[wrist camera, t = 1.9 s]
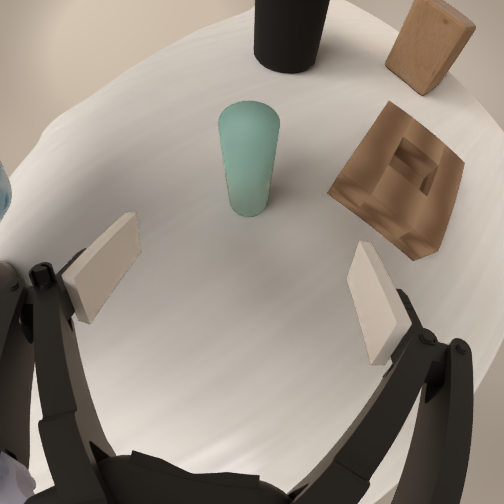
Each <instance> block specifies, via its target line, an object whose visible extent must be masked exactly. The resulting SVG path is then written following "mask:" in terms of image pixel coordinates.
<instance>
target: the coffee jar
mask: <svg viewBox="0 0 504 504" xmlns="http://www.w3.org/2000/svg"><path fill="white" fill-rule="evenodd" d="M329 1H330V0H255V25H254V55H255V57H256V59H257V60H258V61H259V62H260V64H262V65H263V66H264V67H266V68H268V69H270V70H273V71H276V72H280V73H299V72H302V71H305V70H307V69H308V68H310V67H311V66H312V65H313V64H314V63H315V60H316V56H317V52H318V48H319V44H320V40H321V36H322V31H323V27H324V23H325V19H326V14H327V10H328V6H329Z"/></svg>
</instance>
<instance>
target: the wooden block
mask: <svg viewBox="0 0 504 504" xmlns="http://www.w3.org/2000/svg"><path fill="white" fill-rule="evenodd" d="M475 29H476V26H475V24H474V23H473V22H472V21H471V20H469V19H468V18H467V17H466V16H464V15H463V14H462V13H460V12H459V11H458V10H456V9H455V8H453V7H452V6H450V5H449V4H448V3H446V2H445V1H443V0H414V2H413V4H412V6H411V9H410V11H409V13H408V15H407V17H406V20H405V22H404V24H403V26H402V29H401V31H400V33H399V35H398V37H397V39H396V41H395V44H394V46H393V48H392V50H391V52H390V54H389V56H388V58H387V60H386V63H385V65H386V67H387V68H388V69H390V70H391V71H392V72H394V73H395V74H396V75H397V76H399V77H400V78H401V79H402V80H404V81H405V82H406V83H407V84H408V85H410V86H411V87H412V88H413V89H414V90H415V91H416V92H418V93H419V94H421V95H424V94H426V93H428V92H429V91H430V90H432V89H433V88H435V87H436V86H437V85H439V83H440V82H441V80H442V79H443V78H444V76H445V75H446V73H447V72H448V70H449V69H450V67H451V66H452V64H453V63H454V62H455V60H456V59H457V57H458V56H459V54H460V53H461V51H462V49H463V48H464V47H465V45H466V44H467V42H468V40H469V39H470V37H471V36H472V34H473V33H474V31H475Z"/></svg>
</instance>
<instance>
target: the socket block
mask: <svg viewBox="0 0 504 504" xmlns="http://www.w3.org/2000/svg"><path fill="white" fill-rule="evenodd" d="M464 164H465V163H464V162H463V161H462V160H461V159H460V158H459V157H458V156H457V155H456V154H455V153H454V152H453V151H452V150H451V149H450V148H449V147H448V146H446V145H445V144H444V143H443V142H442V141H441V140H440V139H438V138H437V137H436V136H435V135H434V134H433V133H431V132H430V131H429V130H428V129H427V128H425V127H424V126H423V125H422V124H420V123H419V122H418V121H416V120H415V119H414V118H413V117H411V116H410V115H409V114H407V113H406V112H404V111H403V110H402V109H400V108H399V107H398V106H396V105H395V104H393V103H392V102H390V101H388V103H387V104H386V106H385V107H384V109H383V110H382V112H381V113H380V115H379V116H378V118H377V119H376V121H375V122H374V124H373V125H372V127H371V128H370V130H369V131H368V133H367V134H366V136H365V137H364V139H363V140H362V142H361V143H360V144H359V146H358V147H357V149H356V150H355V152H354V153H353V155H352V156H351V158H350V159H349V160H348V162H347V163H346V165H345V166H344V168H343V169H342V171H341V172H340V174H339V175H338V177H337V179H336V180H335V182H334V183H333V185H332V187H331V188H330V190H329V192H328V193H327V194H329V195H330V196H331V197H333V198H334V199H336V200H337V201H338V202H340V203H341V204H342V205H344V206H345V207H347V208H348V209H349V210H351V211H352V212H353V213H355V214H356V215H357V216H359V217H360V218H361V219H362V220H364V221H365V222H366V223H368V224H369V225H370V226H371V227H373V228H374V229H375V230H377V231H378V232H379V233H380V234H382V235H383V236H384V237H385V238H387V239H388V240H389V241H390V242H391V243H393V244H394V245H395V246H396V247H397V248H399V249H400V250H401V251H402V252H403V253H405V254H406V255H407V256H408V257H409V258H410V259H411V260H413V261H414V260H417V259H419V258H422V257H425V256H427V255H430V254H432V253H435V252H437V251H438V250H439V248H440V245H441V242H442V240H443V237H444V234H445V231H446V228H447V225H448V222H449V219H450V216H451V213H452V210H453V207H454V203H455V200H456V196H457V193H458V189H459V185H460V181H461V177H462V173H463V169H464Z"/></svg>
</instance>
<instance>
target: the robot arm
mask: <svg viewBox="0 0 504 504" xmlns="http://www.w3.org/2000/svg"><path fill="white" fill-rule="evenodd" d="M11 199H12V190H11V185H10V181H9V178H8V176H7V174H6V171H5V169H4V167H3V166H2V164H1V162H0V222H1V220H2V218H3V217H4V215H5V213H6V212H7V210H8V208H9V206H10V204H11ZM140 253H141V246H140V238H139V229H138V219H137V213H133V212H125V213H124V214H123V215H122V216H121V217H120V218H119V219H118V220H117V221H115V222H114V223H113V224H112V225H111V226H110V227H109V228H108V229H107V230H106V231H105V232H104V233H103V234H101V235H100V236H99V237H98V238H97V239H96V240H95V241H94V242H93V243H92V244H91V245H90V246H89V247H88V248H87V249H86V248H85V249H83V250H81V251H80V252H78V253H77V254H76V255H75V256H74V257H73V258H72V259H71V260H70V261H69V262H68V264H66V265H65V266H64V267H63V268H62V269H61V270H60V271H59V272H58V273H57V274H56V275H55V273H54V270H53V267H52V264H50V263H48V262H43V263H39V264H37V265H35V266H34V267H32V269H31V270H30V271H29V277H30V279H31V282H32V284H33V286H30V287H26V284H25V282H24V280H23V279H22V278H19V276H18V274H17V273H16V271H15V270H14V268H13V267H12V266H11V265H9V264H8V263H5V262H2V261H0V504H358V502H359V501H360V500H361V498H362V497H363V496H364V495H365V493H366V492H367V490H368V488H369V486H370V482H369V480H370V478H371V476H372V475H373V473H374V472H375V470H376V469H377V467H378V466H379V464H380V463H381V461H382V460H383V458H384V457H385V455H386V454H387V452H388V450H389V449H390V447H391V445H392V444H393V442H394V440H395V439H396V437H397V435H398V433H399V431H400V430H401V428H402V426H403V424H404V422H405V420H406V418H407V417H408V415H409V413H410V411H411V409H412V407H413V404H414V402H415V400H416V398H417V396H418V394H419V392H420V389H421V387H422V390H421V397H420V403H419V408H418V413H417V418H416V423H415V428H414V432H413V436H412V440H411V444H410V448H409V452H408V455H407V459H406V462H405V466H404V469H403V472H402V475H401V478H400V481H399V484H398V487H397V489H396V492H395V495H394V497H393V500H392V502H391V504H460V499H461V496H462V492H463V487H464V483H465V478H466V472H467V467H468V461H469V454H470V446H471V437H472V424H473V364H472V352H471V348H470V347H469V345H468V344H467V343H466V342H465V341H464V340H462V339H459V338H455V339H453V340H452V341H451V343H450V344H449V345H447V344H444V343H440V342H438V340H437V337H436V336H435V335H434V333H432V332H431V331H430V330H428V329H426V328H423V327H422V325H421V322H420V320H419V318H418V316H417V314H416V312H415V310H414V308H413V306H412V304H411V302H410V300H409V298H408V296H407V295H406V294H405V293H404V292H403V291H402V290H401V289H395V287H394V285H393V283H392V281H391V279H390V277H389V275H388V273H387V271H386V269H385V267H384V265H383V263H382V261H381V260H380V258H379V256H378V254H377V252H376V251H375V249H374V247H373V245H372V243H371V242H366V241H359V243H358V246H357V249H356V252H355V255H354V258H353V261H352V264H351V267H350V270H349V273H348V276H347V282H348V285H349V288H350V291H351V295H352V298H353V301H354V305H355V308H356V311H357V315H358V318H359V322H360V325H361V329H362V333H363V337H364V340H365V344H366V348H367V352H368V356H369V360H370V364H371V365H385V364H386V363H387V361H388V360H389V358H390V357H391V360H392V363H393V364H392V365H391V366H390V368H389V369H388V370H387V372H386V373H385V374H384V376H383V379H382V381H381V382H380V384H379V386H378V387H377V389H376V390H375V392H374V393H373V395H372V396H371V398H370V399H369V401H368V402H367V404H366V405H365V406H364V408H363V409H362V411H361V412H360V413H359V415H358V416H357V417H356V419H355V420H354V422H353V423H352V424H351V425H350V427H349V428H348V429H347V431H346V432H345V433H344V434H343V436H342V437H341V438H340V439H339V441H338V442H337V443H336V444H335V445H334V447H333V448H332V449H331V450H330V451H329V453H328V454H327V455H326V456H325V457H324V458H323V459H322V460H321V462H320V463H319V464H318V465H317V466H316V467H315V468H314V469H313V470H312V471H311V472H310V473H309V474H308V475H307V476H306V477H305V478H304V479H303V480H302V481H300V482H299V483H298V484H297V485H296V486H295V487H294V488H293V489H292V490H291V491H289V492H288V493H287V494H286V493H285V492H283V491H282V490H280V489H279V488H277V487H275V486H273V485H272V484H269V483H267V482H264V481H261V480H259V477H260V475H248V474H238V473H230V472H222V473H205V474H193V473H189V472H187V471H185V470H183V469H181V468H179V467H176V466H174V465H172V464H170V463H168V462H167V461H165V460H163V459H160V458H156V457H153V456H150V455H146V454H143V453H140V452H137V451H134V450H133V451H132V454H131V455H119V456H116V454H115V452H114V451H113V449H112V447H111V446H110V444H109V443H108V441H107V439H106V437H105V435H104V432H103V430H102V427H101V424H100V422H99V419H98V416H97V413H96V410H95V407H94V404H93V401H92V398H91V395H90V392H89V388H88V385H87V381H86V378H85V374H84V370H83V366H82V362H81V358H80V353H79V349H78V344H77V339H76V334H75V328H74V323H73V320H72V318H71V317H72V315H73V314H74V312H75V313H76V316H77V318H78V320H79V321H82V322H85V323H88V324H91V322H92V321H93V319H94V318H95V316H96V315H97V313H98V312H99V310H100V309H101V307H102V306H103V304H104V303H105V301H106V300H107V298H108V297H109V296H110V294H111V293H112V291H113V290H114V288H115V287H116V286H117V284H118V283H119V281H120V280H121V279H122V277H123V276H124V274H125V273H126V272H127V270H128V269H129V268H130V266H131V265H132V264H133V262H134V261H135V260H136V258H137V257H138V256H139V254H140ZM34 365H35V366H36V375H37V383H38V391H39V397H40V403H41V408H42V414H43V419H42V420H40V421H39V423H38V428H39V433H40V438H41V442H42V446H43V449H44V453H45V456H46V460H47V463H48V466H49V469H50V472H51V475H52V478H53V481H54V484H55V486H53V487H50V488H48V489H46V490H44V491H42V492H40V493H37V494H34V492H33V490H34V489H35V488H36V482H35V480H34V478H33V477H31V475H30V473H29V471H28V469H29V458H30V403H31V390H32V381H33V372H34Z"/></svg>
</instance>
